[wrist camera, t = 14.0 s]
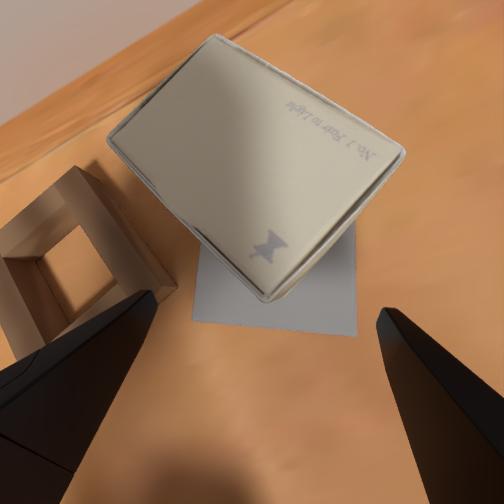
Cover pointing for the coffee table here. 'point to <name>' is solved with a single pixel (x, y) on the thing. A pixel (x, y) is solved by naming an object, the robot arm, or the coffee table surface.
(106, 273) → the coffee table surface
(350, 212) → the skincare box
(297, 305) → the slate mat
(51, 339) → the walnut holder
